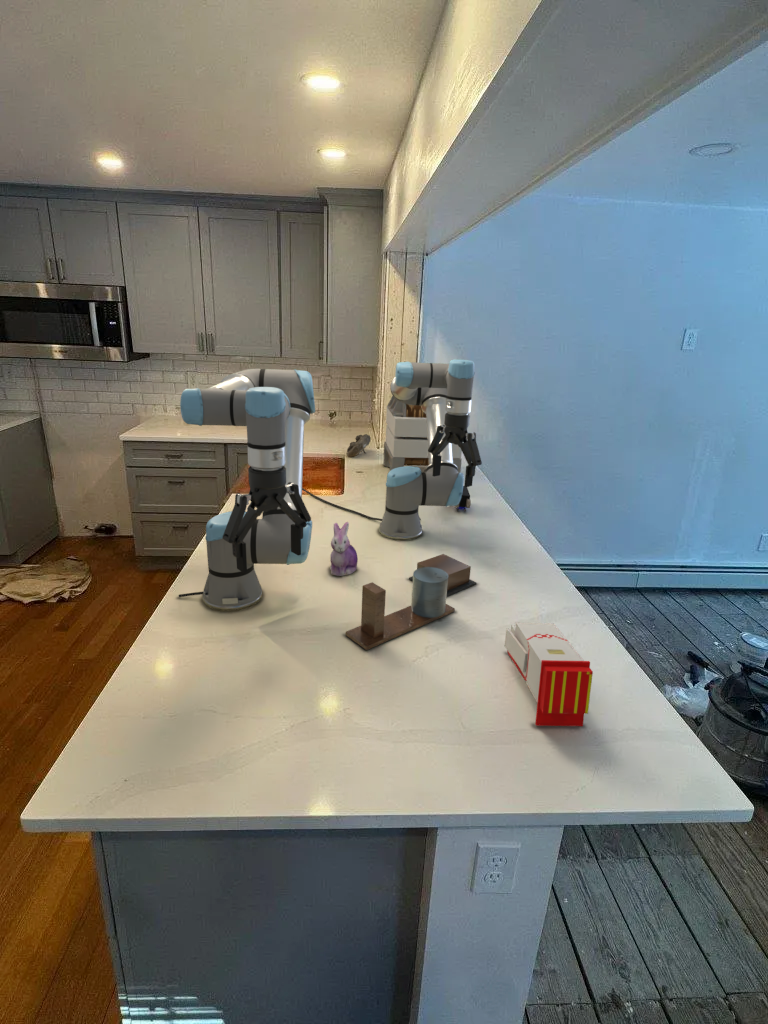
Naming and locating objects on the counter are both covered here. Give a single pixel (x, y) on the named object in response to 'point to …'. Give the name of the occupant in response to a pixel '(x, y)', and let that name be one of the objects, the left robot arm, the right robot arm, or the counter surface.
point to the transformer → (409, 437)
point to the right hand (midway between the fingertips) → (451, 480)
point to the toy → (551, 672)
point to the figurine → (342, 552)
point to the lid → (449, 569)
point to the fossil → (358, 445)
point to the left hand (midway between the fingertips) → (269, 561)
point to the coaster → (457, 589)
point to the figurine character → (464, 500)
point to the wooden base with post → (423, 609)
